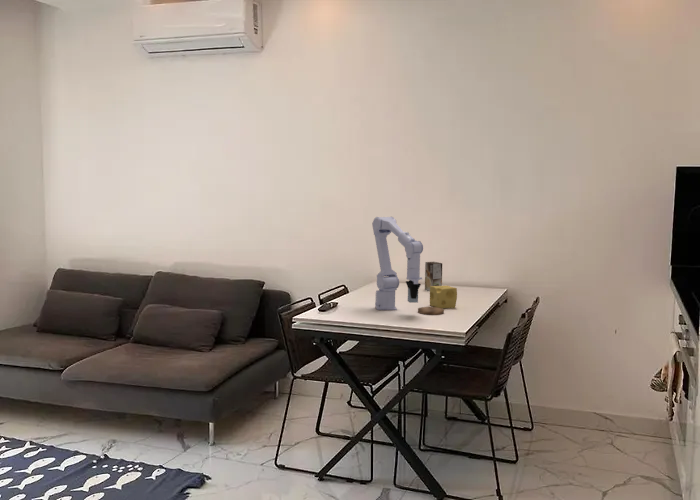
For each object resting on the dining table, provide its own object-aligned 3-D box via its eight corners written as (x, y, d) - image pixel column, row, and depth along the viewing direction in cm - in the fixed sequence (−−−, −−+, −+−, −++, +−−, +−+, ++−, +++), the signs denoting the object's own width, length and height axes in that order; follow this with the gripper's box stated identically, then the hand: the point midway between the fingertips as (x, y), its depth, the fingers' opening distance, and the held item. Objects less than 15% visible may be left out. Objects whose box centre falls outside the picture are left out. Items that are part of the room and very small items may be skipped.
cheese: (436, 309, 323) (437, 288, 322) (428, 305, 333) (429, 285, 332) (456, 308, 326) (457, 288, 325) (447, 304, 336) (448, 284, 335)
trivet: (420, 314, 307) (420, 311, 307) (415, 310, 319) (415, 306, 319) (446, 314, 308) (446, 311, 308) (440, 310, 320) (440, 306, 320)
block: (409, 302, 303) (409, 289, 303) (407, 300, 307) (408, 288, 307) (417, 302, 303) (418, 289, 303) (416, 301, 307) (416, 288, 307)
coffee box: (442, 291, 377) (443, 263, 375) (432, 292, 374) (433, 263, 372) (433, 289, 385) (434, 261, 383) (424, 289, 382) (424, 261, 381)
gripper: (425, 270, 297) (424, 300, 298) (419, 266, 311) (418, 294, 313) (409, 270, 296) (408, 300, 298) (404, 265, 311) (403, 294, 312)
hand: (412, 297), depth 305 cm, fingers closed on block, 4 cm apart
